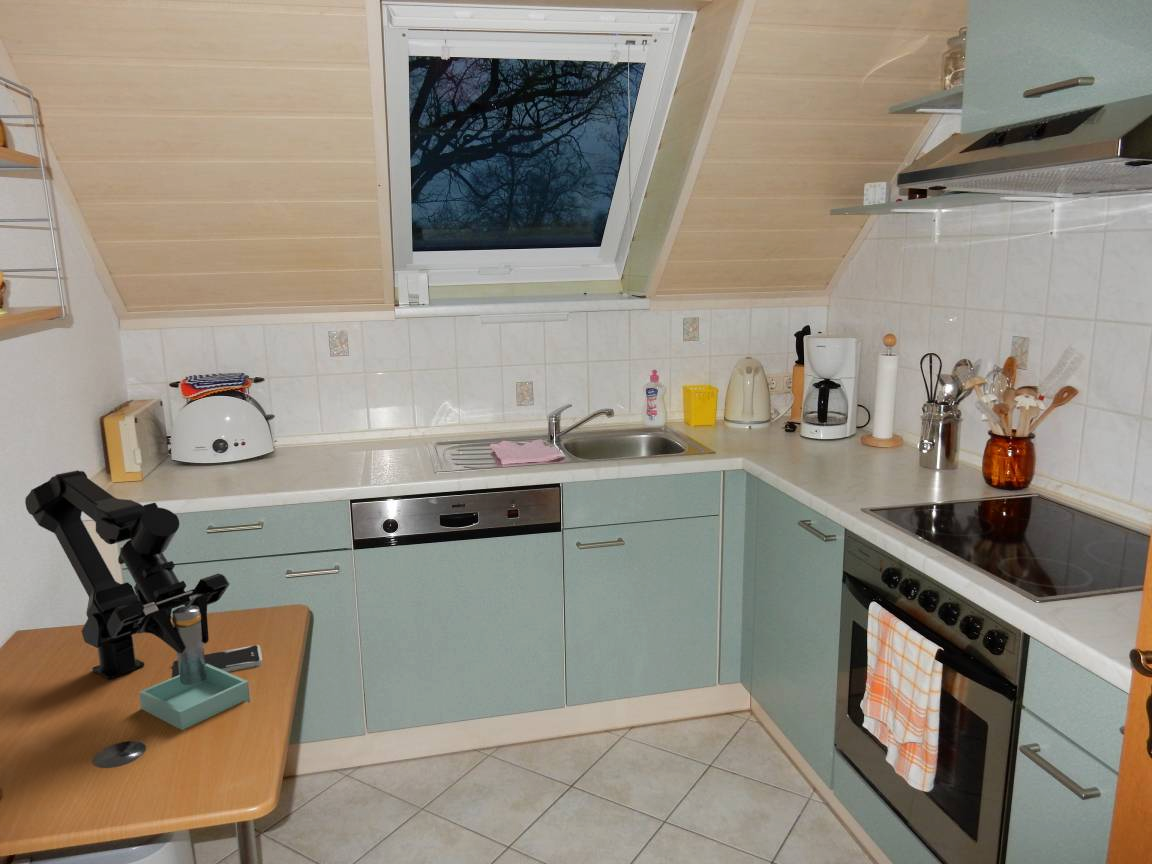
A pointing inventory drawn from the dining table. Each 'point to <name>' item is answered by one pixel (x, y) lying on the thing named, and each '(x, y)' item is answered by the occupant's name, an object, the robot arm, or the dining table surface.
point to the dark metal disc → (119, 754)
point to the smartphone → (231, 659)
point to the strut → (190, 644)
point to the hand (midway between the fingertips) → (194, 647)
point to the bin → (194, 697)
